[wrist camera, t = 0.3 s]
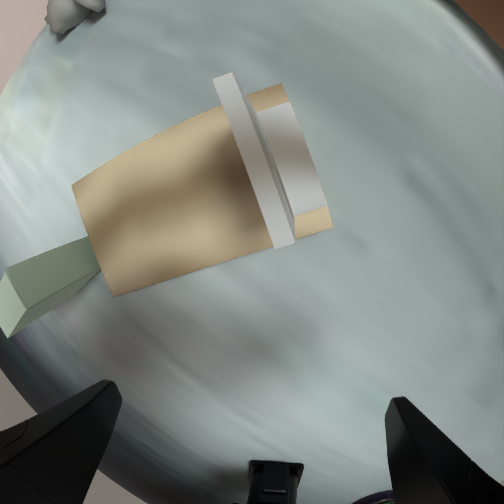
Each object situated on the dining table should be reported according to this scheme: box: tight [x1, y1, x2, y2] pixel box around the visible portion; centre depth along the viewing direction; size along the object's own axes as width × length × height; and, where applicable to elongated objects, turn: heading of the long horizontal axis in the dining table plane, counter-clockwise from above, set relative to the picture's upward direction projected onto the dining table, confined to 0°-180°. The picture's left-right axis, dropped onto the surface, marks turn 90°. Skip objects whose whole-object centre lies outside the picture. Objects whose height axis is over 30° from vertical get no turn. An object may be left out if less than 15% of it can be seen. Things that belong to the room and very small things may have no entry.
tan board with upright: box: [72, 72, 333, 297], centre depth 16 cm, size 10×18×10 cm, turn 110°
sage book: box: [0, 236, 101, 338], centre depth 19 cm, size 3×6×10 cm, turn 126°
